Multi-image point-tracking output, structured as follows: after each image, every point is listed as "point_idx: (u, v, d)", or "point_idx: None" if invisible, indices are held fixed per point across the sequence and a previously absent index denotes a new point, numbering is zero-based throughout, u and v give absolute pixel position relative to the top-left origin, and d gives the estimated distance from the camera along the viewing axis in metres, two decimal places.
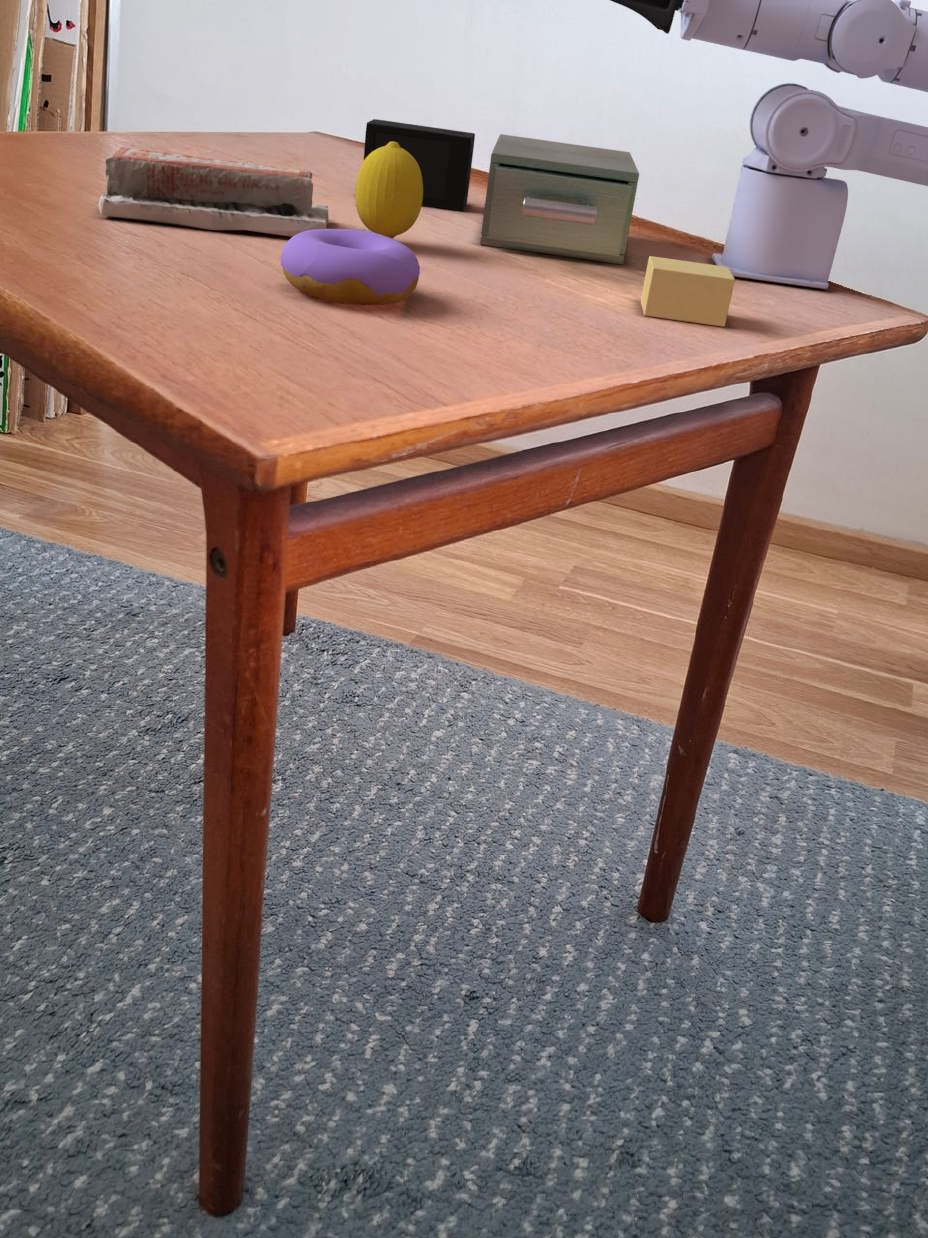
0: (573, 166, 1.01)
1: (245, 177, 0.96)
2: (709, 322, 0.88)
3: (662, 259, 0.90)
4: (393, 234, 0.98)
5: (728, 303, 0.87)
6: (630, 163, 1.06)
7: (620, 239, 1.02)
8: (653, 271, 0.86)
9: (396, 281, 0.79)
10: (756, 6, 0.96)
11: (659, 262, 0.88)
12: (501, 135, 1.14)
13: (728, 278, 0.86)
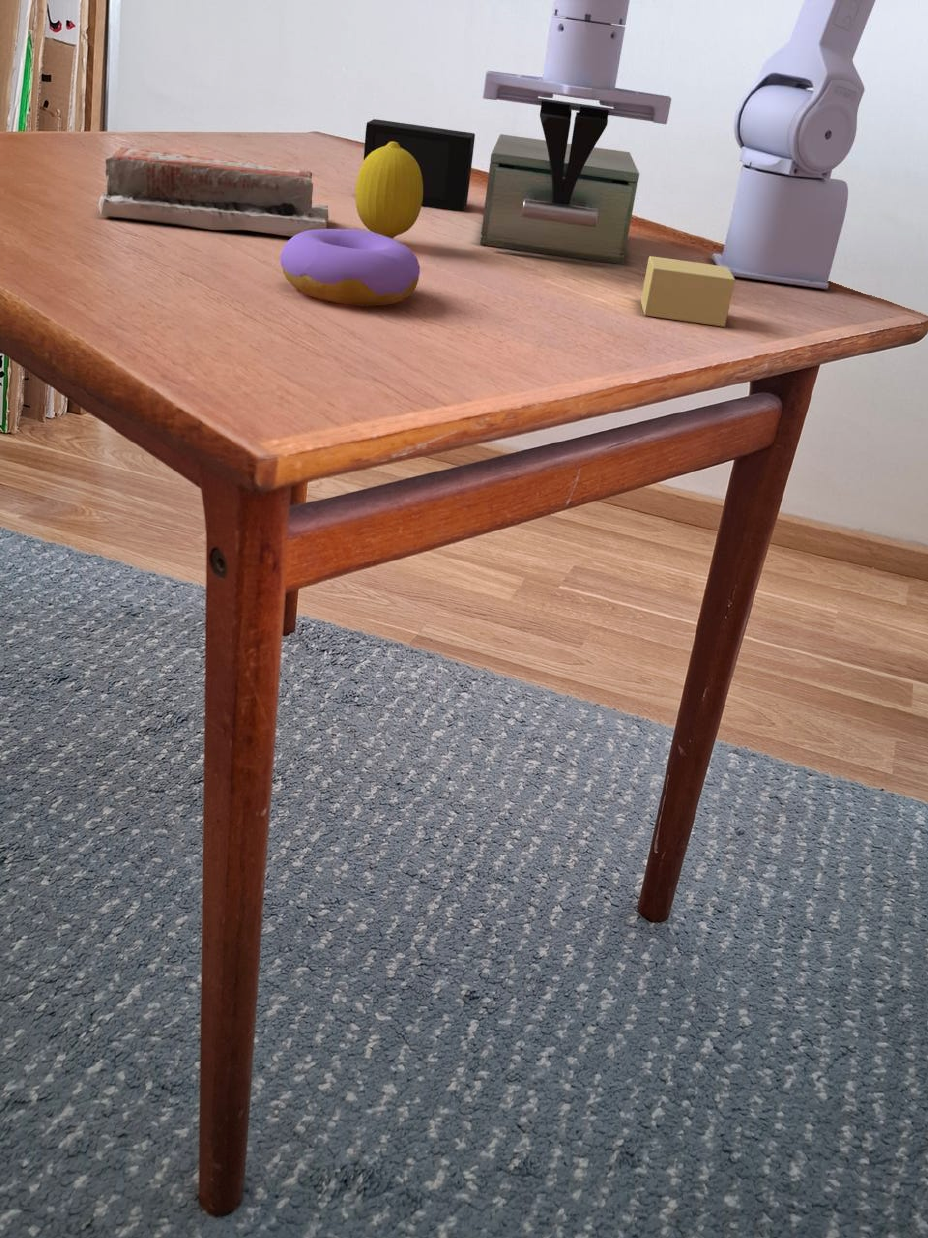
0: None
1: (245, 177, 0.96)
2: (709, 322, 0.88)
3: (662, 259, 0.90)
4: (393, 234, 0.98)
5: (728, 303, 0.87)
6: (630, 163, 1.06)
7: (620, 241, 1.01)
8: (653, 271, 0.86)
9: (396, 281, 0.79)
10: (624, 29, 0.91)
11: (659, 262, 0.88)
12: (501, 135, 1.14)
13: (728, 278, 0.86)
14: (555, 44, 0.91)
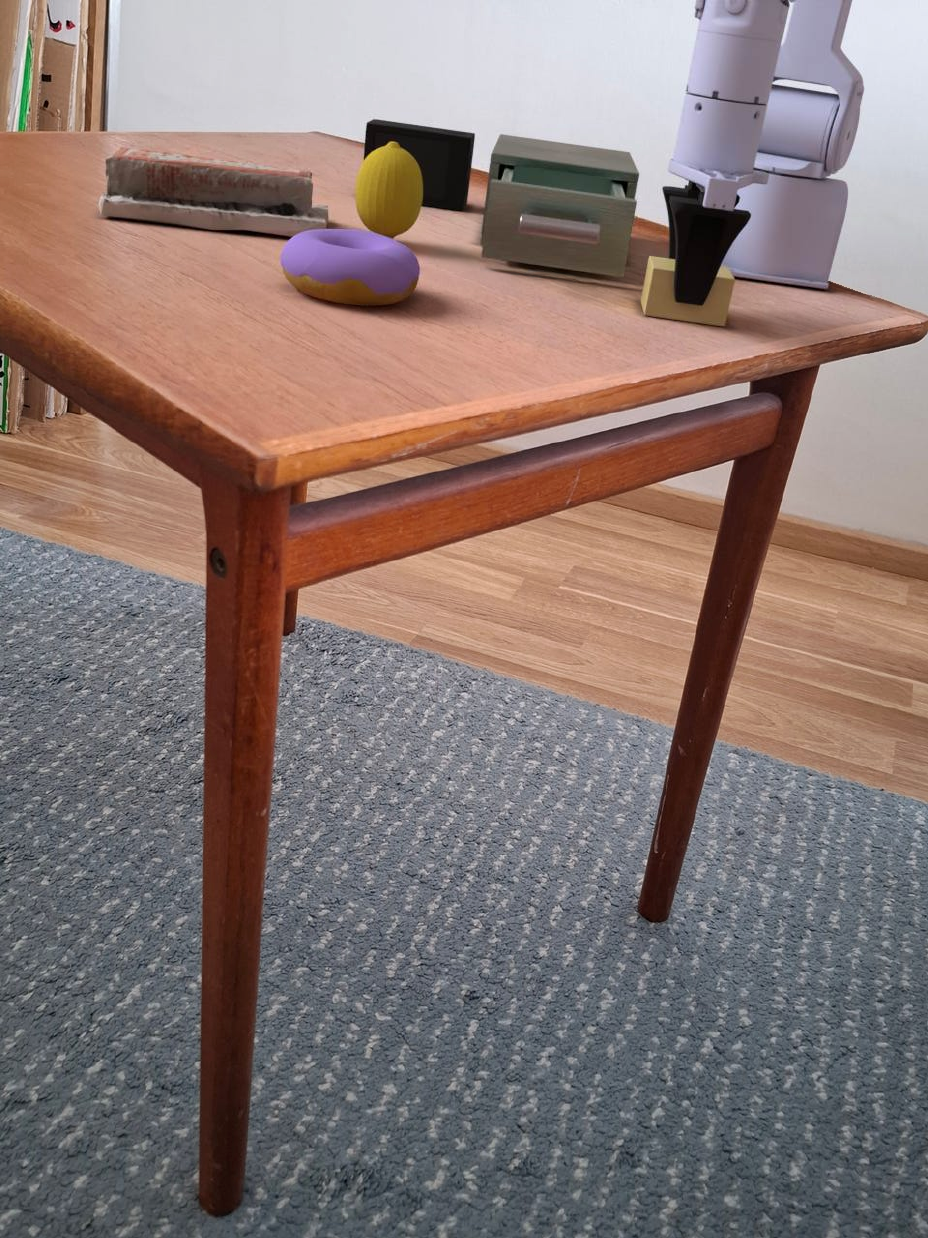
0: (573, 166, 1.01)
1: (245, 177, 0.96)
2: (709, 322, 0.88)
3: (662, 259, 0.90)
4: (393, 234, 0.98)
5: (728, 303, 0.87)
6: (630, 163, 1.06)
7: (625, 258, 0.94)
8: (653, 271, 0.86)
9: (396, 281, 0.79)
10: None
11: (659, 262, 0.88)
12: (501, 135, 1.14)
13: (728, 278, 0.86)
14: (750, 133, 0.82)
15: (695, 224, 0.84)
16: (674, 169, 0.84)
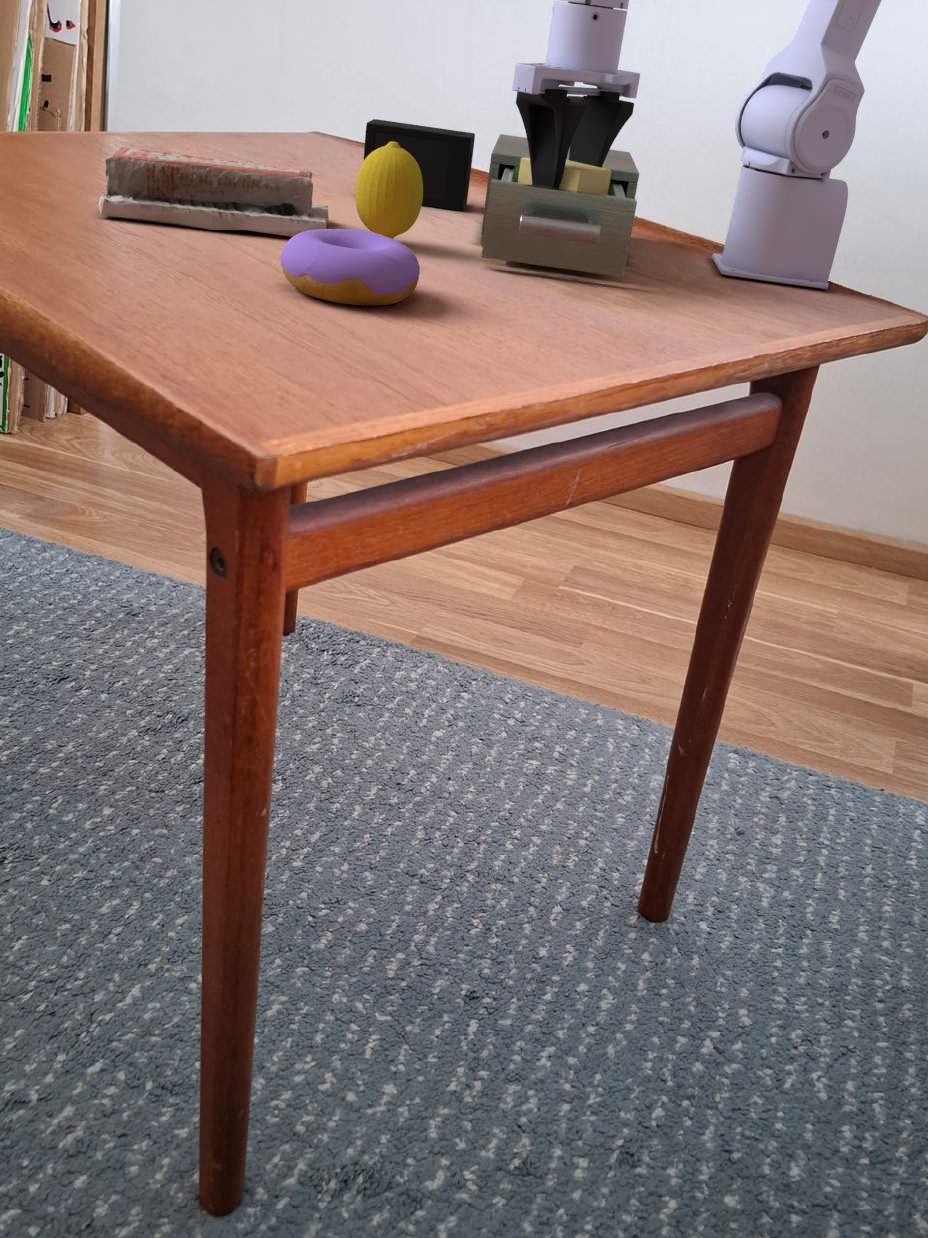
0: None
1: (245, 177, 0.96)
2: None
3: None
4: (393, 234, 0.98)
5: None
6: (630, 163, 1.06)
7: (625, 258, 0.94)
8: (521, 161, 0.97)
9: (396, 281, 0.79)
10: None
11: None
12: (501, 135, 1.14)
13: (576, 170, 0.95)
14: (589, 32, 0.90)
15: (543, 116, 0.94)
16: None
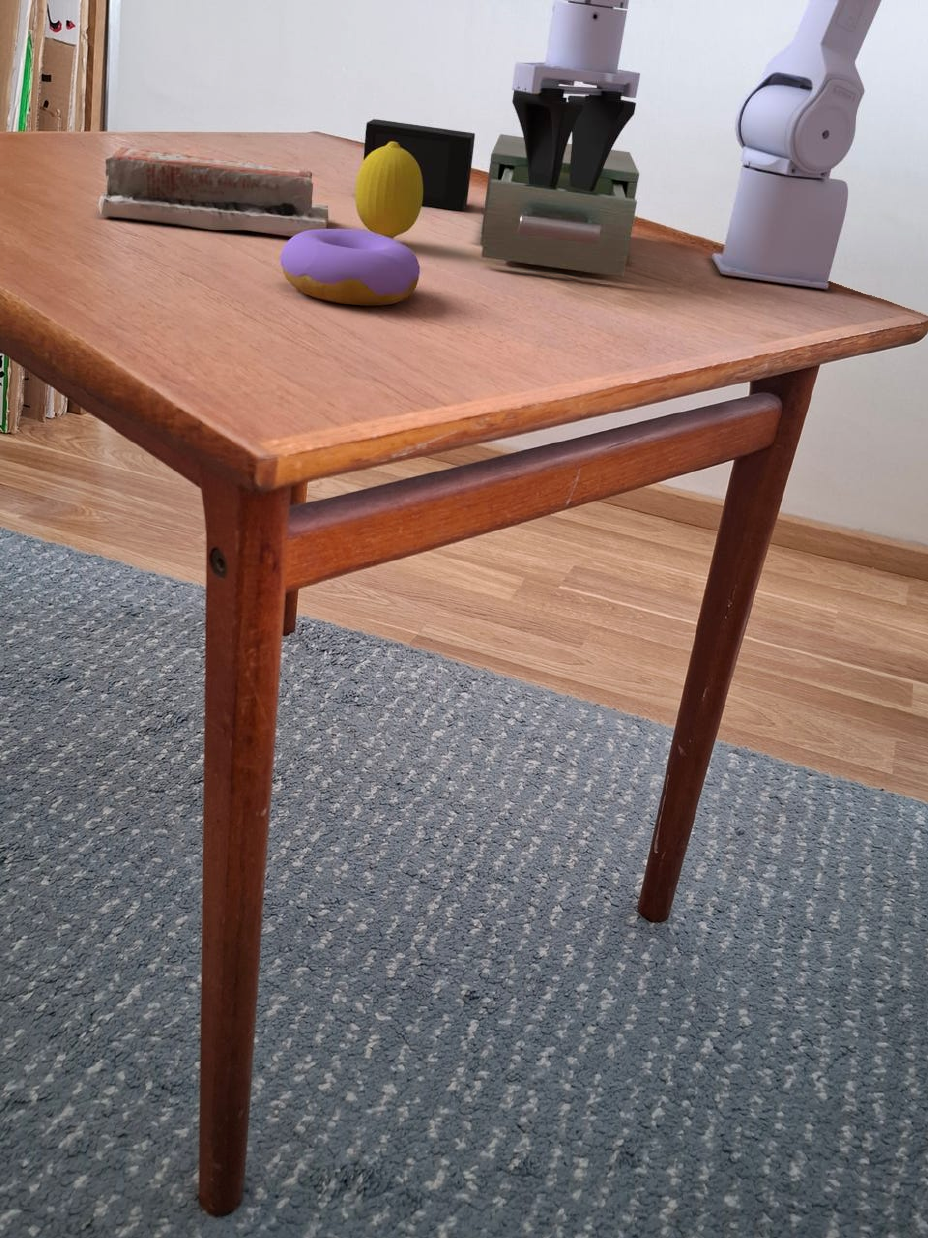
0: None
1: (245, 177, 0.96)
2: None
3: None
4: (393, 234, 0.98)
5: None
6: (630, 163, 1.06)
7: (625, 258, 0.94)
8: None
9: (396, 281, 0.79)
10: None
11: None
12: (501, 135, 1.14)
13: None
14: (589, 32, 0.90)
15: (540, 115, 0.94)
16: None
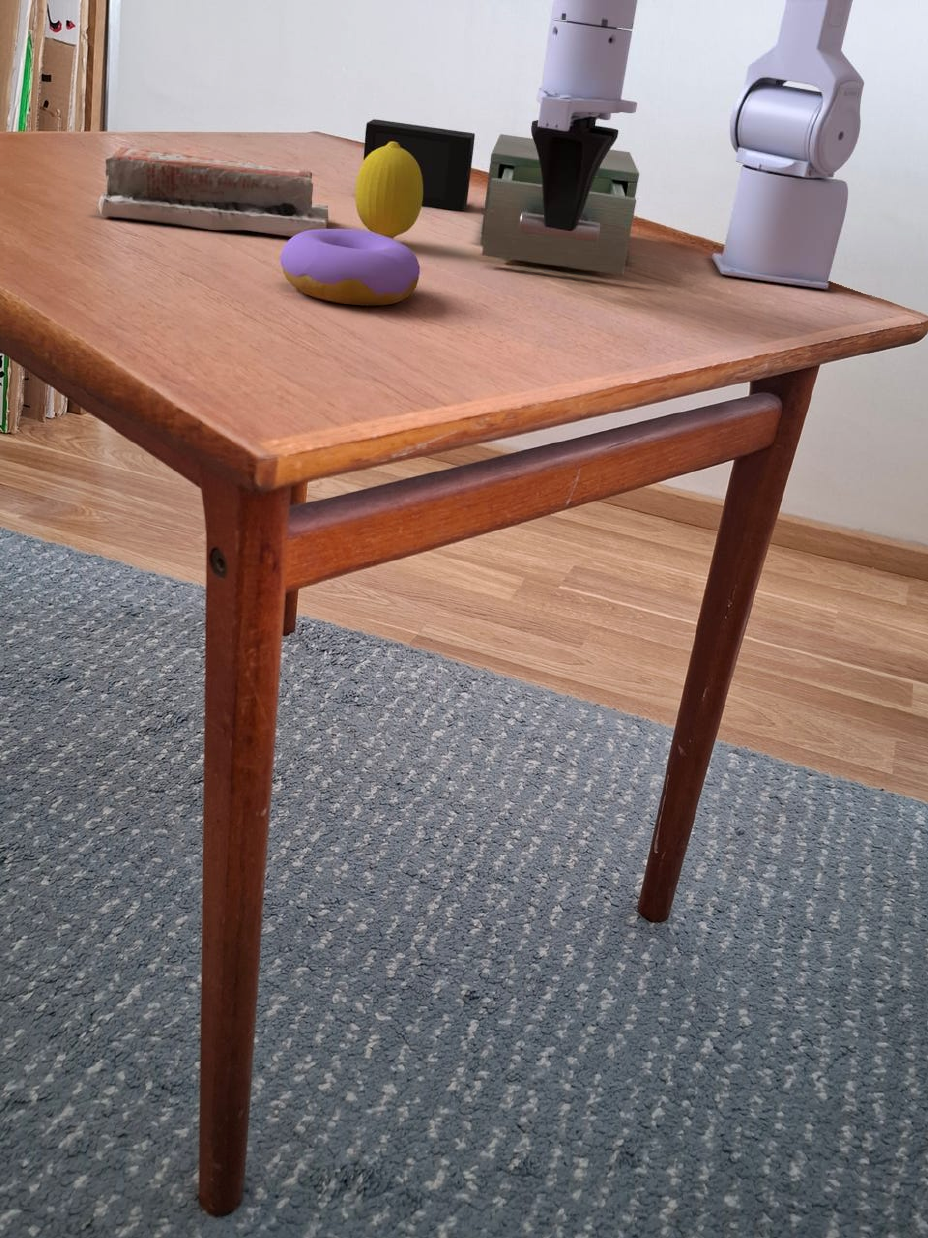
0: None
1: (245, 177, 0.96)
2: None
3: None
4: (393, 234, 0.98)
5: None
6: (630, 163, 1.06)
7: (624, 256, 0.95)
8: None
9: (396, 281, 0.79)
10: None
11: None
12: (501, 135, 1.14)
13: None
14: (605, 57, 0.81)
15: (559, 148, 0.86)
16: (537, 96, 0.84)
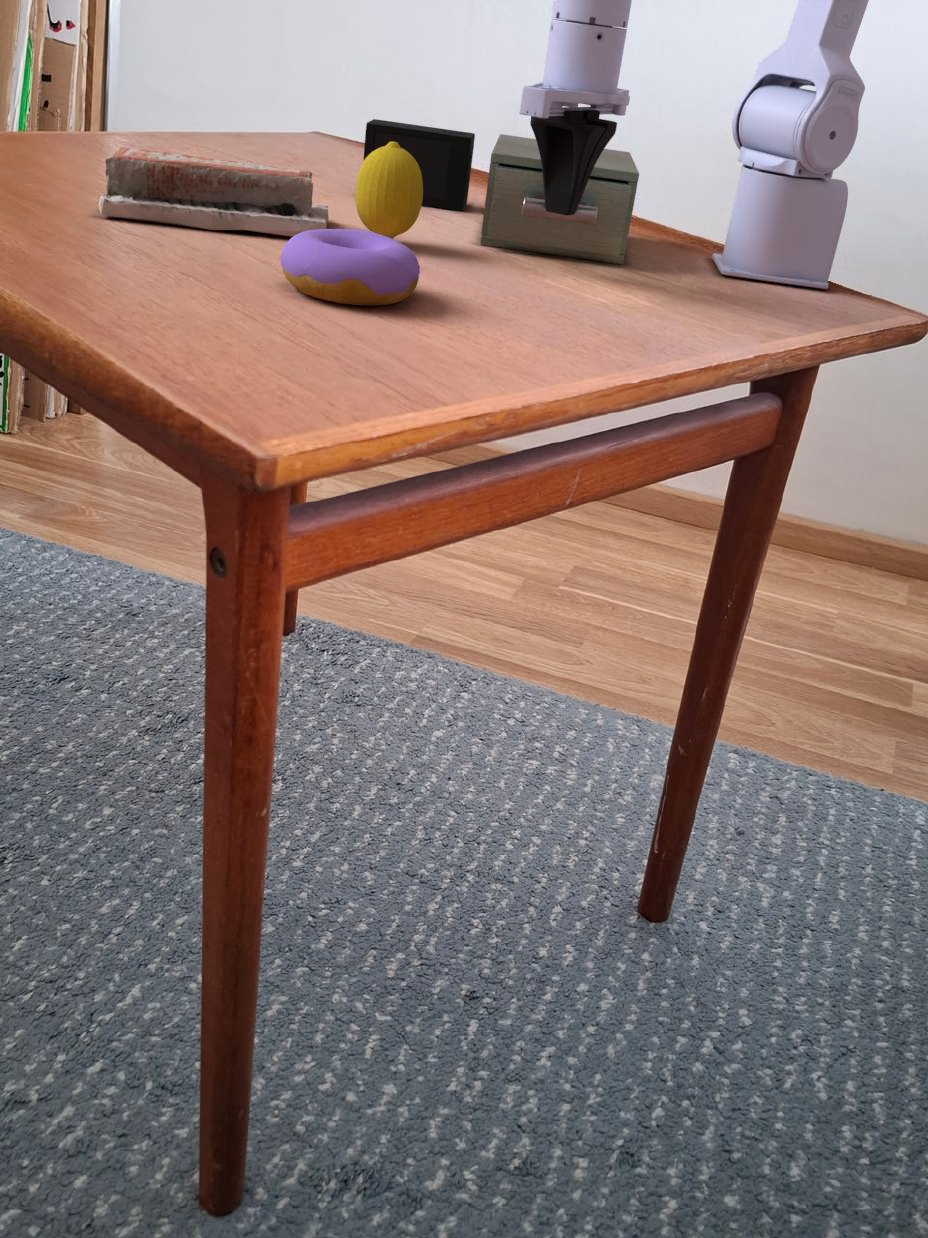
0: None
1: (245, 177, 0.96)
2: None
3: None
4: (393, 234, 0.98)
5: None
6: (630, 163, 1.06)
7: (620, 239, 1.02)
8: None
9: (396, 281, 0.79)
10: None
11: None
12: (501, 135, 1.14)
13: None
14: (593, 53, 0.88)
15: (558, 137, 0.93)
16: None
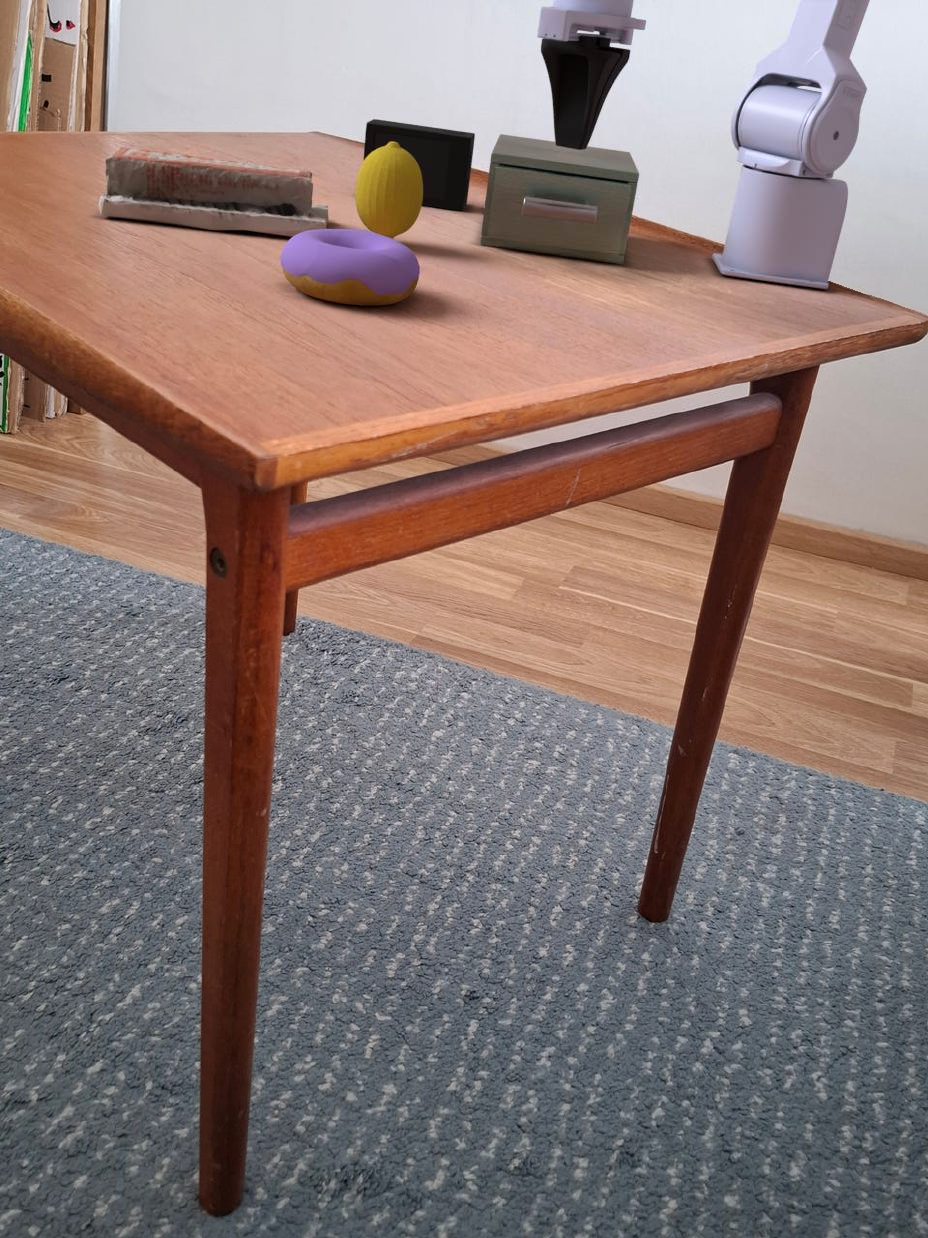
0: (573, 166, 1.01)
1: (245, 177, 0.96)
2: None
3: None
4: (393, 234, 0.98)
5: None
6: (630, 163, 1.06)
7: (620, 238, 1.02)
8: None
9: (396, 281, 0.79)
10: None
11: None
12: (501, 135, 1.14)
13: None
14: None
15: (569, 66, 0.88)
16: None
